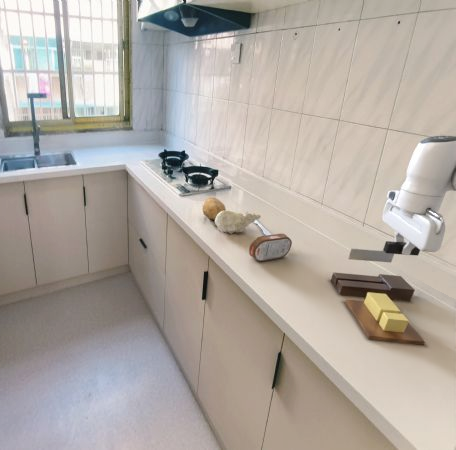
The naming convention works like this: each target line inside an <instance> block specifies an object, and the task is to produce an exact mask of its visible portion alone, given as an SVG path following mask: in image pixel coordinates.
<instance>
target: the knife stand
mask: <svg viewBox="0 0 456 450" xmlns="http://www.w3.org/2000/svg"><path fill="white" fill-rule="evenodd" d="M330 282H331V285H333V287H334V288H335V290H336V291H337V294H339V295H340V296H349V297H359V298H361V297H362V298H366V296H367V293H368V292H370V293H380V294H386V295H387V296H388V297H389V298H390V299H391V301H400V302H401V301H403V302H411V300H412V298H413V295H414V293H415V289H414V287H412V286H411V284H410V283H409V282H407V281H406V280H405V279H404V277H403V276H401V275H393V274H382V273H379V274H378V275H367V274H357V273H355V274H354V273H346V272H336V271H335V272H332V275H331V279H330Z"/></svg>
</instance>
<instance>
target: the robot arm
mask: <svg viewBox="0 0 456 450" xmlns="http://www.w3.org/2000/svg"><path fill="white" fill-rule="evenodd" d="M449 191H450V192H451V191H452V192H456V136H454V135H436V136H435V135H434V136H430V137H427V138H424V139H422V140H420V142H418V144H417V145H416V147H415V148H414V151H413V153H412V155H411V158H410V161H409V163H408V166H407V168H406V178H405V180H404V182H402V185H401V187H400V190H398V189H397V190H395V189H394V190H392V189H391V190H389V191H388V192H387V195H386V198H387V200H386V201H385V203H384V207H383V210H382V215H381V216H382V222H384V223H385V224H386V225H388V226H389V227H390V228H392V230H394V232H393V233H394V234H393V235H394V242H404V241H405V243H407V244H406V245H405V246H402V247H401V250H400V252H401V253H402V254H401V255H404V256H411V255H410V253H411V250H412V249H413V248H415V247H417V248H418V249H420V252H426V253H436V252H438V251H440V249H441V247H442V244H443V240H444V237H445V233H446V222H445V220H444V216H443V215H442V214H441V213H439V211H440V209H441V207H442V203H443V201H444V198H445V195H446V194H447V192H449Z"/></svg>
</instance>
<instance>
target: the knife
mask: <svg viewBox="0 0 456 450" xmlns="http://www.w3.org/2000/svg"><path fill="white" fill-rule="evenodd" d="M406 244H407V243H406V241H405V242H395V241H388V240H386V241H385V243H384V246H383V249H382V250H376V249H363V248H350V253H349V256H348V260H354V261H366V262H381V263H392V261H393V259H394V255H403V254H402V253H401V252H400V250H401V247H402V246H405V245H406ZM420 252H421V250H420V249H418V248H417V247H415V248H413V249H412V250H411V253H410V255H409V256H416V257H417V256H419V254H420Z"/></svg>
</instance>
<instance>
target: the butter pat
mask: <svg viewBox="0 0 456 450" xmlns="http://www.w3.org/2000/svg"><path fill="white" fill-rule="evenodd" d="M408 322H409V323H410V320H409V319H408V318H407V317H406V316H405V314H404V313H401V314H397V313H387V312H383V314H382V317H381V319H380V322H379V325H380V326H381V327H382V329H383V330H384V331H393V332H403V333H404V331H405V329H406V327H407V324H408Z"/></svg>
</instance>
